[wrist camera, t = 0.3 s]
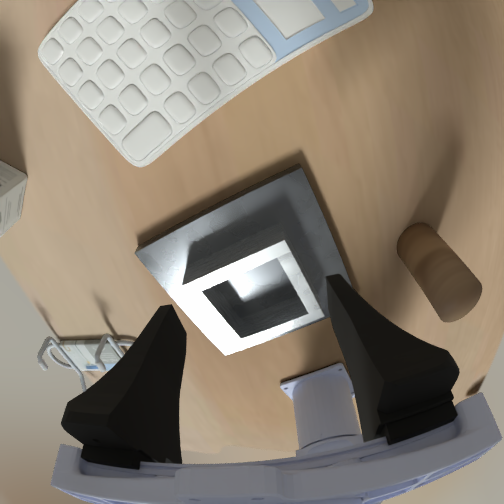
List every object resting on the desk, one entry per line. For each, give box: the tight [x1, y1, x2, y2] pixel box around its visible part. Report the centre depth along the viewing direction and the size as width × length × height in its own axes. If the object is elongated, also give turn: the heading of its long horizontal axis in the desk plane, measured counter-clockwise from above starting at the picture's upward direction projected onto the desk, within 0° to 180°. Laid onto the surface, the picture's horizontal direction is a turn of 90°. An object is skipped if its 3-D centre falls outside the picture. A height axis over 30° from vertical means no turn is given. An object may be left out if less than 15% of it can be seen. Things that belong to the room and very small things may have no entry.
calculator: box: [38, 0, 374, 167], centre depth 14 cm, size 13×20×2 cm, turn 126°
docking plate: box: [135, 164, 352, 355], centre depth 24 cm, size 14×14×4 cm
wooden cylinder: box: [397, 223, 482, 322], centre depth 21 cm, size 4×4×8 cm
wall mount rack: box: [37, 334, 134, 392], centre depth 30 cm, size 16×14×6 cm
